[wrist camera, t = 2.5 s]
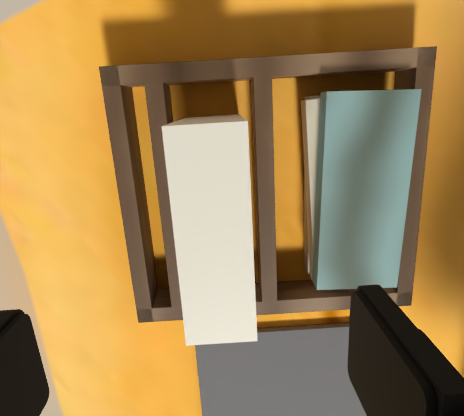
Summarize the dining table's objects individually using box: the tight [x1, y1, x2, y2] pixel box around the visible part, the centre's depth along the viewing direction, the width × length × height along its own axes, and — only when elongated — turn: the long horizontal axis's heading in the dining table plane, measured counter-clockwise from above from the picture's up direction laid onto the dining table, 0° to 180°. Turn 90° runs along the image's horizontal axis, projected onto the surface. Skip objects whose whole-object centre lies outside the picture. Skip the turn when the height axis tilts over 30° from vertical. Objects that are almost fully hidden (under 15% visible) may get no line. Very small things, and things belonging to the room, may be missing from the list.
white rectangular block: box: [162, 114, 257, 346], centre depth 23 cm, size 4×12×11 cm, turn 3°
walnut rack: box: [99, 46, 437, 323], centre depth 27 cm, size 22×19×3 cm
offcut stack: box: [301, 89, 422, 290], centre depth 26 cm, size 7×14×4 cm, turn 3°
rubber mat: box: [195, 323, 366, 416], centre depth 34 cm, size 16×16×1 cm
